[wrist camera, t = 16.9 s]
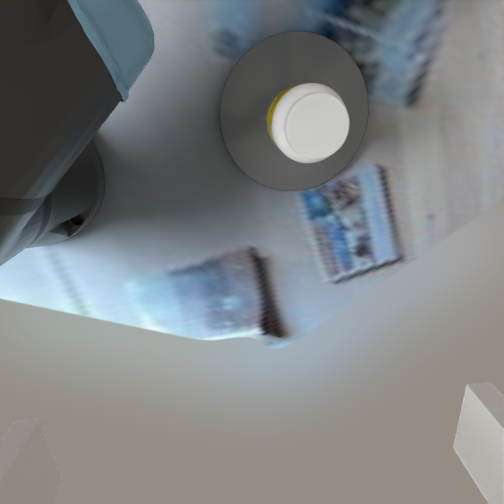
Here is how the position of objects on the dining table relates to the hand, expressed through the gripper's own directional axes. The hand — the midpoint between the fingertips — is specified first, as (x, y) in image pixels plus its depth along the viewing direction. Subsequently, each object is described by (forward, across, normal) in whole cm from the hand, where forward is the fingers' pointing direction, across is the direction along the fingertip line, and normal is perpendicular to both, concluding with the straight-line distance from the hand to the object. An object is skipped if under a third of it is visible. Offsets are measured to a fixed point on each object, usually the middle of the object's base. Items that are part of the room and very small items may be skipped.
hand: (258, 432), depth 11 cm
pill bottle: (+30, +6, +8) cm, 32 cm away
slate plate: (+32, +6, +8) cm, 33 cm away
